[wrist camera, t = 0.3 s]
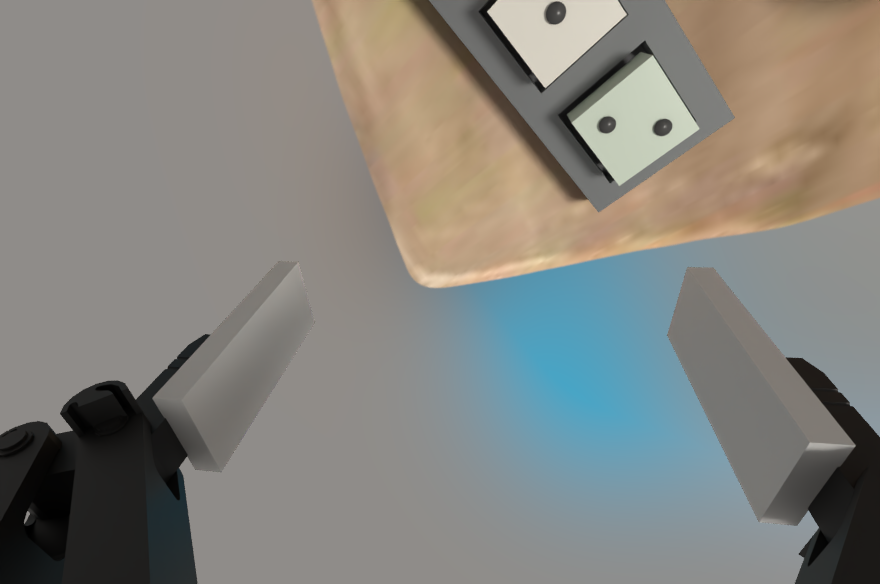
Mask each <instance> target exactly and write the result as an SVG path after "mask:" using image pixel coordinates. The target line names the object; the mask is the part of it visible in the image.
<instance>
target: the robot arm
mask: <svg viewBox="0 0 880 584" xmlns="http://www.w3.org/2000/svg"><path fill="white" fill-rule="evenodd" d="M314 323H315V321H314V317H313V314H312V310H311V306H310V303H309V299H308V295H307V292H306V288H305V285H304V281H303V277H302V273H301V270H300V266H299V263H298V262H281V261H279V262H278V263H277V264H276V265H275V266H274V267H273V268H272V269H271V270H270V271H269V272H268V273H267V275H266V276H265V277H264V278H263V279H262V280H261V281H260V282H259V283H258V284H257V285H256V286H255V288H254V289H253V290H252V291H251V292H250V293H249V294H248V295H247V296H246V297H245V298H244V299H243V300H242V302H241V303H240V304H239V305H238V306H237V307H236V308H235V309H234V310H233V311H232V312H231V314H230V315H229V316H228V317H227V318H226V319H225V320H224V321H223V322H222V323H221V324H220V325H219V326H218V328H217V329H216V330H215V331H214V332H213V333H212V334H211V335H208V334H205V335H203V336H202V337H200V338H199V339H197V340H196V341H194V342H192V343H191V344H189V345H188V346H187V347H186V348H185V349H184V350H183V351H182V352H181V354H179V355H178V357H177V359H175V360H174V361H173V362H172V363H171V364H170V365H169V366H168V369H165V370H164V371H163V372H162V373H161V374H160V375H159V376H158V377H157V378H156V379H155V380H154V381H153V382H152V384H151V385H150V386H149V387H148V388H147V389H146V390H145V391H144V392H143V393H142V394H141V395H140V396H139V397H138V398H137V399H136V400H135V399H134V397H133V395H132V394H131V392H130V391H129V389H128V387H127V386H126V385H125V383H123V382H120V381H106V382H102V383H99V384H95V385H93V386H91V387H89V388H86V389H84V390H83V391H81V392H79V393H78V394H76V395H75V396H73V397H72V398H71V399H70V400H69V401H68V402H67V403H66V404H65V405H64V407H63V409H62V411H61V413H60V414H61V415H62V417H63V418H64V419H65V421H66V422H67V423H68V424H69V426H70V427H71V428H72V429H73V431H70V432H64V433H59V434H55V432H54V431H53V430H52V429H51V428H50V426H49V425H48V424H47V423H44V422H40V421H37V422H30V423H26V424H23V425H20V426H18V427H15V428H12V429H10V430H9V431H6V432H5V433H3V434H1V435H0V584H197V577H196V569H195V562H194V554H193V546H192V539H191V532H190V524H189V517H188V509H187V501H186V493H185V486H184V478H183V475H182V472H181V470H180V469H179V467H180V465H181V464H182V462H183V461H184V460H185V458H186V457H188V458H189V460H190V461H191V463H192V465H193V466H194V468H195V470H204V471H215V472H222V470H223V469H224V467H225V466H226V464H227V462H228V461H229V459H230V458H231V456H232V454H233V453H234V451H235V450H236V448H237V446H238V445H239V443H240V442H241V440H242V438H243V437H244V435H245V434H246V432H247V430H248V429H249V427H250V426H251V424H252V422H253V421H254V419H255V418H256V416H257V414H258V413H259V411H260V410H261V408H262V406H263V405H264V403H265V401H266V400H267V398H268V397H269V395H270V394H271V392H272V390H273V389H274V387H275V386H276V384H277V382H278V381H279V379H280V378H281V376H282V374H283V373H284V371H285V370H286V368H287V366H288V365H289V363H290V362H291V360H292V358H293V357H294V355H295V354H296V352H297V350H298V349H299V347H300V346H301V344H302V342H303V341H304V339H305V338H306V336H307V335H308V333H309V331H310V330H311V328H312V327H313V325H314ZM667 336H668V338H669V340H670V342H671V344H672V346H673V348H674V350H675V352H676V354H677V356H678V358H679V360H680V362H681V365H682V367H683V368H684V371H685V373H686V374H687V377H688V379H689V381H690V383H691V385H692V387H693V389H694V391H695V393H696V395H697V397H698V399H699V401H700V403H701V405H702V407H703V409H704V411H705V413H706V415H707V417H708V420H709V422H710V423H711V426H712V427H713V430H714V432H715V434H716V436H717V438H718V440H719V442H720V444H721V446H722V448H723V450H724V452H725V454H726V456H727V458H728V460H729V462H730V464H731V466H732V468H733V470H734V473H735V475H736V476H737V478H738V481H739V483H740V485H741V487H742V489H743V491H744V493H745V495H746V497H747V499H748V501H749V503H750V505H751V507H752V509H753V511H754V513H755V515H756V517H757V519H758V521H759V522H762V523H773V524H784V525H794V526H796V525H798V524H799V522H800V521H801V519H802V518H803V517H804V515H805V514H806V513H807V511H808V510H809V511H810V513H811V515H812V517H813V518H814V520H815V522H816V523H817V525H818V526H819V529H818V530H817V532H816V533H815V534H814V535H813V536H812V538H811V539H810V540H809V542H808V543H807V544H806V545H805V547H804V548H803V549H802V550H801V552H800V553H799V555H801V556H802V557H804V561H803V563H802V566H801V569H800V571H799V574H798V577H797V579H796V582H795V584H880V437H879V436H878V435H877V433H875V431H874V430H873V429H872V428H871V427H870V426H869V424H868V423H867V422H866V421H865V420H864V419H863V417H862V416H861V415H860V414H859V413H858V412H857V411H856V409H855V408H854V407H852V406H850V403H849V401H848V400H847V399H846V398H845V397H844V396H843V395H842V393H839V392H838V389H837V388H836V387H835V385H834V384H833V383H832V382H831V381H830V380H829V379H828V377H827V376H826V375H825V374H824V373H823V372H821V371H820V370H819V369H817V368H816V367H814V366H813V365H811V364H810V363H808V362H807V361H805V360H804V359H803V358H785V357H784V355H783V354H782V353H781V352H780V350H779V349H778V348H777V347H776V345H775V344H774V343H773V342H772V341H771V339H770V338H769V337H768V335H767V334H766V333H765V332H764V330H763V329H762V328H761V327H760V325H759V324H758V323H757V322H756V320H755V319H754V318H753V317H752V315H751V314H750V313H749V312H748V311H747V309H746V308H745V307H744V305H743V304H742V303H741V302H740V300H739V299H738V298H737V297H736V296H735V294H734V293H733V292H732V291H731V289H730V288H729V287H728V286H727V284H726V283H725V282H724V280H723V279H722V278H721V277H720V275H719V274H718V273H717V272H716V270H715V269H714V268H700V267H698V268H697V267H696V268H695V267H688V268H687V270H686V273H685V276H684V281H683V283H682V287H681V290H680V293H679V297H678V300H677V304H676V307H675V310H674V314H673V317H672V321H671V324H670V328H669V331H668V334H667ZM27 511H29V512H30V515H29V517H28V519H27V521H26V523H25V524H24V519H25V516H26V513H27Z"/></svg>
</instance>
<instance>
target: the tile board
mask: <svg viewBox="0 0 880 584" xmlns="http://www.w3.org/2000/svg"><path fill="white" fill-rule="evenodd" d="M429 1H430V2H431V4H432V5H433V6H434V7H435V9H436V10H437V11H438V12H439V14H440V15H441V16H442V17H443V19H444V20H445V21H446V22H447V24H448V25H449V26H450V27H451V29H452V30H453V31H454V32H455V34H456V35H457V36H458V37H459V39H460V40H461V41H462V42H463V44H464V45H465V46H466V47H467V49H468V50H469V51H470V52H471V54H472V55H473V56H474V57H475V59H476V60H477V61H478V62H479V64H480V65H481V66H482V67H483V69H484V70H485V71H486V72H487V74H488V75H489V76H490V77H491V79H492V80H493V81H494V82H495V84H496V85H497V86H498V87H499V89H500V90H501V91H502V92H503V94H504V95H505V96H506V97H507V99H508V100H509V101H510V102H511V104H512V105H513V106H514V107H515V109H516V110H517V111H518V112H519V114H520V115H521V116H522V117H523V119H524V120H525V121H526V122H527V124H528V125H529V126H530V127H531V129H532V130H533V131H534V132H535V133H536V135H537V136H538V137H539V138H540V140H541V141H542V142H543V143H544V145H545V146H546V147H547V148H548V150H549V151H550V152H551V153H552V155H553V156H554V157H555V158H556V160H557V161H558V162H559V163H560V165H561V166H562V167H563V168H564V170H565V171H566V172H567V173H568V175H569V176H570V177H571V178H572V180H573V181H574V182H575V183H576V185H577V186H578V187H579V188H580V190H581V191H582V192H583V193H584V195H585V196H586V197H587V198H588V200H589V201H590V202H591V203H592V205H593V206H594V207H595V208H596V210H597V211H598V212H600V211H601V210H603V209H604V208H606V207H607V206H609V205H610V204H611V203H613V202H614V201H616V200H617V199H619V198H620V197H622V196H623V195H624V194H626V193H627V192H629V191H630V190H632V189H633V188H634V187H636V186H637V185H639V184H640V183H642V182H643V181H645V180H646V179H647V178H649V177H650V176H652V175H653V174H655V173H656V172H658V171H659V170H660V169H662V168H663V167H665V166H666V165H668V164H669V163H670V162H672V161H673V160H675V159H676V158H678V157H679V156H681V155H682V154H683V153H685V152H686V151H688V150H689V149H691V148H692V147H694V146H695V145H696V144H698V143H699V142H701V141H702V140H704V139H705V138H707V137H708V136H709V135H711V134H712V133H714V132H715V131H717V130H718V129H719V128H721V127H722V126H724V125H725V124H727V123H728V122H730V121H731V120H732V119H734V118H735V117H734V115H733V114H732V112H731V110H730V109H729V107H728V105H727V104H726V102H725V100H724V99H723V97H722V95H721V94H720V92H719V90H718V89H717V87H716V85H715V84H714V82H713V80H712V79H711V77H710V75H709V74H708V72H707V70H706V69H705V67H704V65H703V64H702V62H701V60H700V59H699V57H698V55H697V54H696V52H695V50H694V49H693V47H692V45H691V44H690V42H689V40H688V39H687V37H686V35H685V34H684V32H683V30H682V29H681V27H680V25H679V24H678V22H677V20H676V19H675V17H674V15H673V14H672V12H671V10H670V9H669V7H668V5H667V4H666V2H665V0H618V2H619V3H620V5H621V6H622V8H623V9H624V11H625V13H626V14H627V15H626V16H625V17H624V18H622V19H621V20H620V21H619V22H618V23H617V24H616V25H615V26H614V27H612V28H611V29H610V30H609V31H608V32H607V33H606V34H605V35H604V36H603V37H601V38H600V39H599V40H598V41H597V42H596V43H595V44H594V45H593V46H591V47H590V48H589V49H588V50H587V51H586V52H585V53H584V54H583V55H582V56H580V57H579V58H578V59H577V60H576V61H575V62H574V63H573V64H572V65H571V66H569V67H568V68H567V69H566V70H565V71H564V72H563V73H562V74H561V75H559V76H558V77H557V78H556V79H555V80H554V81H553V82H552V83H551V84H550V85H548V86H547V87H546V88H545V87H544V86H543V85H542V83H541V82H540V81H539V79H538V78H537V77H536V76H535V74H534V73H533V72H532V70H531V69H530V68H529V66H528V65H527V64H526V62H525V61H524V60H523V58H522V57H521V56H520V54H519V53H518V52H517V50H516V49H515V48H514V46H513V45H512V44H511V43H510V41H509V40H508V39H507V37H506V36H505V35H504V33H503V32H502V31H501V29H500V28H499V27H498V25H497V24H496V23H495V21H494V20H493V19H492V17H491V16H490V15H489V14H488V12H487V11H488V10H489V9H490V8H491V7H492V6H493V5H494V4H495V3H496V1H497V0H429ZM640 52H643V53H646V54H650V55H653V56H654V58H655V60H656V61H657V63H658V64H659V66H660V67H661V69H662V70H663V72H664V74H665V75H666V77H667V78H668V80H669V81H670V83H671V85H672V86H673V88H674V89H675V91H676V92H677V94H678V96H679V97H680V99H681V100H682V102H683V103H684V105H685V106H686V108H687V110H688V111H689V113H690V114H691V116H692V117H693V119H694V121H695V122H696V124H697V125H698V127H699V128H700V129H699V130H698V131H696V132H695V133H693V134H692V135H691V136H689V137H688V138H686V139H685V140H684V141H682V142H681V143H679V144H678V145H676V146H675V147H674V148H672V149H671V150H669V151H668V152H667V153H665V154H664V155H662V156H661V157H660V158H658V159H657V160H655V161H654V162H652V163H651V164H650V165H648V166H647V167H645V168H644V169H643V170H641V171H640V172H638V173H637V174H636V175H634V176H633V177H631V178H630V179H628V180H627V181H626V182H624V183H623V184H621V185H620V186H619V185H618V184H617V182H616V181H615V180H614V178H613V177H612V176H611V174H610V173H609V172H608V170H607V169H606V168H605V167H604V165H603V164H602V163H601V161H600V160H599V159H598V157H597V156H596V155H595V153H594V152H593V151H592V149H591V148H590V147H589V145H588V144H587V143H586V141H585V140H584V139H583V137H582V136H581V135H580V134H579V132H578V131H577V130H576V128H575V127H574V126H573V124H572V123H571V121H570V119H569V118H568V116H567V114H568V113H569V112H570V111H571V110H573V109H574V108H575V107H576V106H577V105H578V104H580V103H581V102H582V101H583V100H584V99H586V98H587V97H588V96H589V95H590V94H591V93H593V92H594V91H595V90H596V89H597V88H598V87H600V86H601V85H602V84H603V83H604V82H606V81H607V80H608V79H609V78H610V77H611V76H613V75H614V74H615V73H616V72H617V71H619V70H620V69H621V68H622V67H623V66H624V65H626V64H627V63H628V62H629V61H630V60H632V59H633V58H634V57H635V56H636V55H637V54H639V53H640Z"/></svg>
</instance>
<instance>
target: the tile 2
mask: <svg viewBox="0 0 880 584" xmlns="http://www.w3.org/2000/svg"><path fill="white" fill-rule="evenodd" d="M567 116H568V118H569V119H570V121H571V123H572V124H573V126H574V127H575V128H576V130H577V131H578V132H579V134H580V135H581V136H582V137H583V139H584V140H585V141H586V143H587V144H588V145H589V147H590V148H591V149H592V151H593V152H594V153H595V155H596V156H597V157H598V159H599V160H600V161H601V163H602V164H603V165H604V167H605V168H606V169H607V170H608V172H609V173H610V174H611V176H612V177H613V178H614V180H615V181H616V182H617V184H618V185H619V186H620V185H621V184H623V183H624V182H626V181H627V180H628V179H630V178H631V177H633V176H634V175H636V174H637V173H638V172H640V171H641V170H643V169H644V168H645V167H647V166H648V165H650V164H651V163H652V162H654V161H655V160H657V159H658V158H660V157H661V156H662V155H664V154H665V153H667V152H668V151H669V150H671V149H672V148H674V147H675V146H676V145H678V144H679V143H681V142H682V141H684V140H685V139H686V138H688V137H689V136H691V135H692V134H693V133H695V132H696V131H698V130H699V129H700V128H699V127H698V125H697V124H696V122H695V121H694V119H693V117H692V116H691V114H690V113H689V111H688V110H687V108H686V106H685V105H684V103H683V102H682V100H681V99H680V97H679V96H678V94H677V92H676V91H675V89H674V88H673V86H672V85H671V83H670V81H669V80H668V78H667V77H666V75H665V74H664V72H663V70H662V69H661V67H660V66H659V64H658V63H657V61H656V60H655V58H654V56H653V55H650V54H646V53H643V52H640V53H639V54H637V55H636V56H635V57H634V58H633V59H632V60H630V61H629V62H628V63H627V64H626V65H624V66H623V67H622V68H621V69H620V70H619V71H617V72H616V73H615V74H614V75H613V76H611V77H610V78H609V79H608V80H607V81H606V82H604V83H603V84H602V85H601V86H600V87H598V88H597V89H596V90H595V91H594V92H593V93H591V94H590V95H589V96H588V97H587V98H586V99H584V100H583V101H582V102H581V103H580V104H578V105H577V106H576V107H575V108H574V109H573V110H571V111H570V112H569V113H568V114H567Z"/></svg>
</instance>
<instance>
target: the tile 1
mask: <svg viewBox="0 0 880 584" xmlns="http://www.w3.org/2000/svg"><path fill="white" fill-rule="evenodd" d="M487 12H488V14H489V15H490V16H491V17H492V19H493V20H494V21H495V23H496V24H497V25H498V27H499V28H500V29H501V31H502V32H503V33H504V35H505V36H506V37H507V39H508V40H509V41H510V43H511V44H512V45H513V46H514V48H515V49H516V50H517V52H518V53H519V54H520V56H521V57H522V58H523V60H524V61H525V62H526V64H527V65H528V66H529V68H530V69H531V70H532V72H533V73H534V74H535V76H536V77H537V78H538V79H539V81H540V82H541V83H542V85H543V86H544V87H545V88H546V87H547V86H548V85H550V84H551V83H552V82H553V81H554V80H555V79H556V78H557V77H558V76H559V75H561V74H562V73H563V72H564V71H565V70H566V69H567V68H568V67H569V66H571V65H572V64H573V63H574V62H575V61H576V60H577V59H578V58H579V57H580V56H582V55H583V54H584V53H585V52H586V51H587V50H588V49H589V48H590V47H591V46H593V45H594V44H595V43H596V42H597V41H598V40H599V39H600V38H601V37H603V36H604V35H605V34H606V33H607V32H608V31H609V30H610V29H611V28H612V27H614V26H615V25H616V24H617V23H618V22H619V21H620V20H621V19H622V18H624V17H625V16H626V15H627V14H626V13H625V11H624V9H623V8H622V6H621V5H620V3H619V2H618V0H497V1H496V3H495V4H494V5H493V6H492V7H491V8H490V9H489V10H488V11H487Z"/></svg>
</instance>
